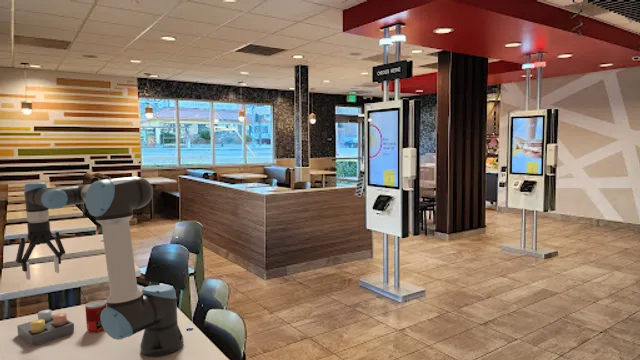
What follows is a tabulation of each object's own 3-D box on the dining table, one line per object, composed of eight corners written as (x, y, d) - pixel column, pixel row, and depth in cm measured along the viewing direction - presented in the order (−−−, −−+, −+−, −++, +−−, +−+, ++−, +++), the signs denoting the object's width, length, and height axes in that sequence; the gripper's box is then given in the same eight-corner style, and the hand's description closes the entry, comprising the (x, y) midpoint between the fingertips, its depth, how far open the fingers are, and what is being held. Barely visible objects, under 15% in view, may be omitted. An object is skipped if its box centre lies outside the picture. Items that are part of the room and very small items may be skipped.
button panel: (74, 332, 180) (73, 323, 179) (32, 346, 168) (31, 336, 168) (58, 322, 190) (57, 313, 190) (18, 335, 179) (17, 325, 178)
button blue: (53, 319, 183) (53, 311, 183) (40, 323, 180) (40, 315, 179) (49, 316, 186) (48, 308, 186) (36, 320, 183) (35, 312, 182)
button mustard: (47, 330, 173) (46, 321, 173) (33, 334, 170) (32, 325, 169) (42, 326, 176) (42, 318, 176) (29, 331, 173) (28, 322, 172)
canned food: (99, 333, 178) (97, 307, 177) (82, 332, 180) (80, 306, 179) (112, 325, 186) (110, 300, 185) (95, 324, 187) (93, 299, 186)
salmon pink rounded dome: (69, 323, 179) (68, 314, 179) (56, 327, 176) (55, 318, 175) (64, 320, 183) (63, 312, 182) (51, 324, 179) (50, 315, 179)
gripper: (64, 215, 188) (68, 267, 190) (2, 224, 171) (7, 280, 173) (72, 217, 183) (76, 270, 185) (8, 226, 166) (13, 284, 168)
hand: (43, 275), depth 179 cm, fingers open, 10 cm apart
